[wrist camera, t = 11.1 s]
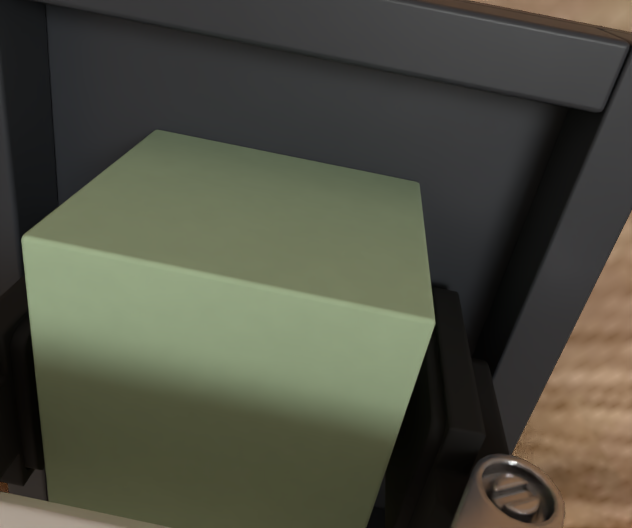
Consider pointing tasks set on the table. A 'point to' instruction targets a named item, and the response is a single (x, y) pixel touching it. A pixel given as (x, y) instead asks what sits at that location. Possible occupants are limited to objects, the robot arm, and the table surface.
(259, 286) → the sage green block
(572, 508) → the table surface
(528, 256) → the dock
